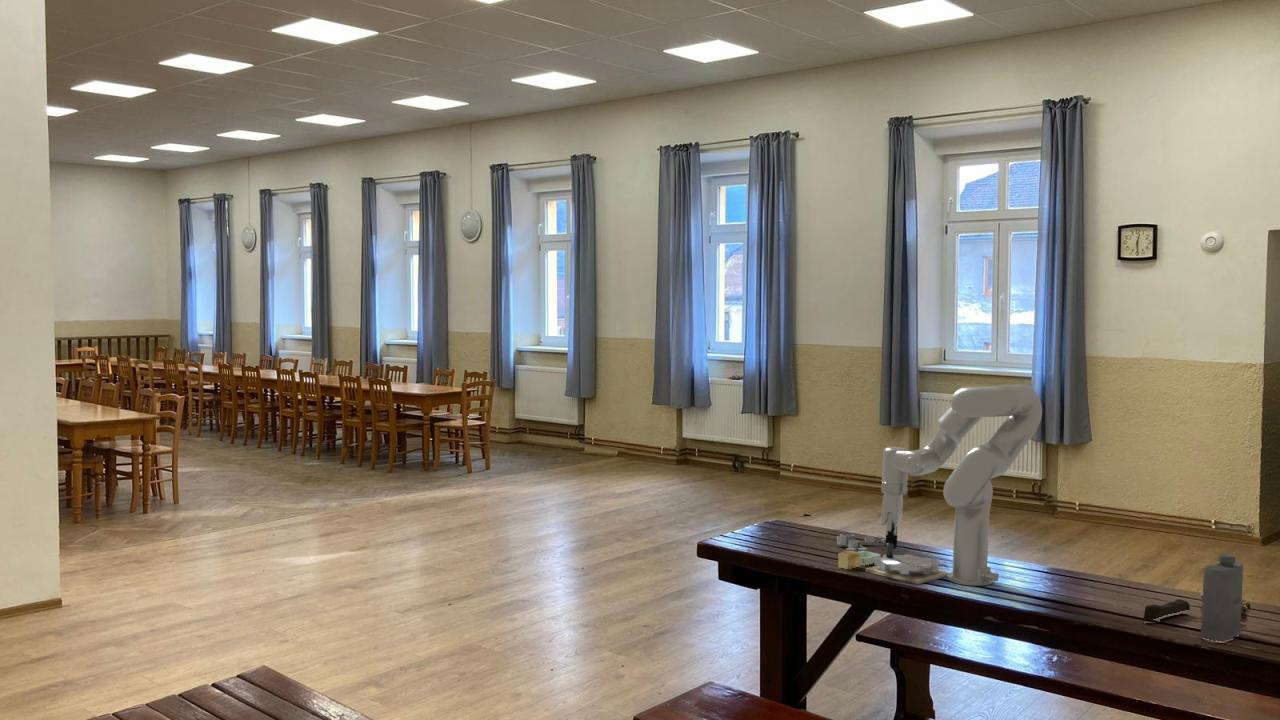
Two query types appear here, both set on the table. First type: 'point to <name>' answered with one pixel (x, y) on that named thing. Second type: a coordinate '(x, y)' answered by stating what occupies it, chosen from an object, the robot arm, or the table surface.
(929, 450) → the robot arm
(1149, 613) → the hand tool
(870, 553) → the seat
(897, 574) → the bearing plate
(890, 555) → the sprocket
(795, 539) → the table surface
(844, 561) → the yellow block
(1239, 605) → the flask
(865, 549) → the pulley system
